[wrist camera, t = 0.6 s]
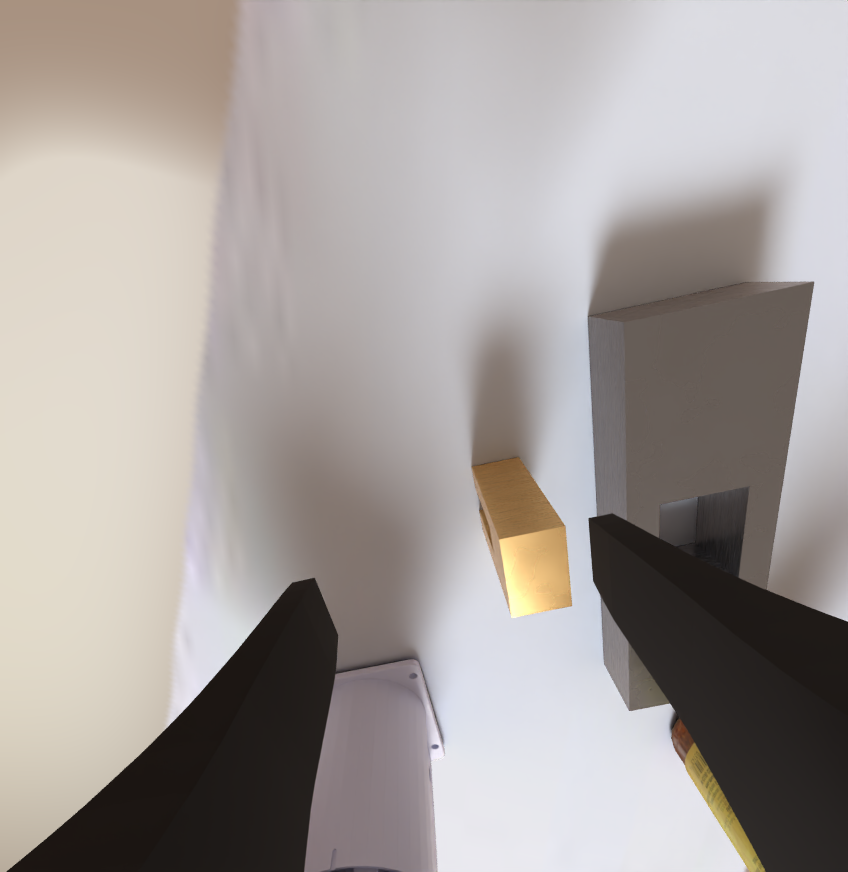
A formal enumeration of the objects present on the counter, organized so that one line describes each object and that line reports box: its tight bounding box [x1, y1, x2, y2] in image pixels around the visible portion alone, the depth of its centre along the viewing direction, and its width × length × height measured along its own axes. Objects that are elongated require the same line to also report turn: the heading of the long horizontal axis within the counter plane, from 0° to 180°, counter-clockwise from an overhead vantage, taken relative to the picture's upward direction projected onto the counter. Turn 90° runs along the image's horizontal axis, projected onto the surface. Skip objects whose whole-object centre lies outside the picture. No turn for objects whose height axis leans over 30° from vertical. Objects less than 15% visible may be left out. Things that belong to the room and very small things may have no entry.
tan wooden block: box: [472, 457, 572, 618], centre depth 17 cm, size 4×2×6 cm, turn 12°
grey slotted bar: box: [588, 282, 814, 711], centre depth 20 cm, size 22×7×3 cm, turn 12°
